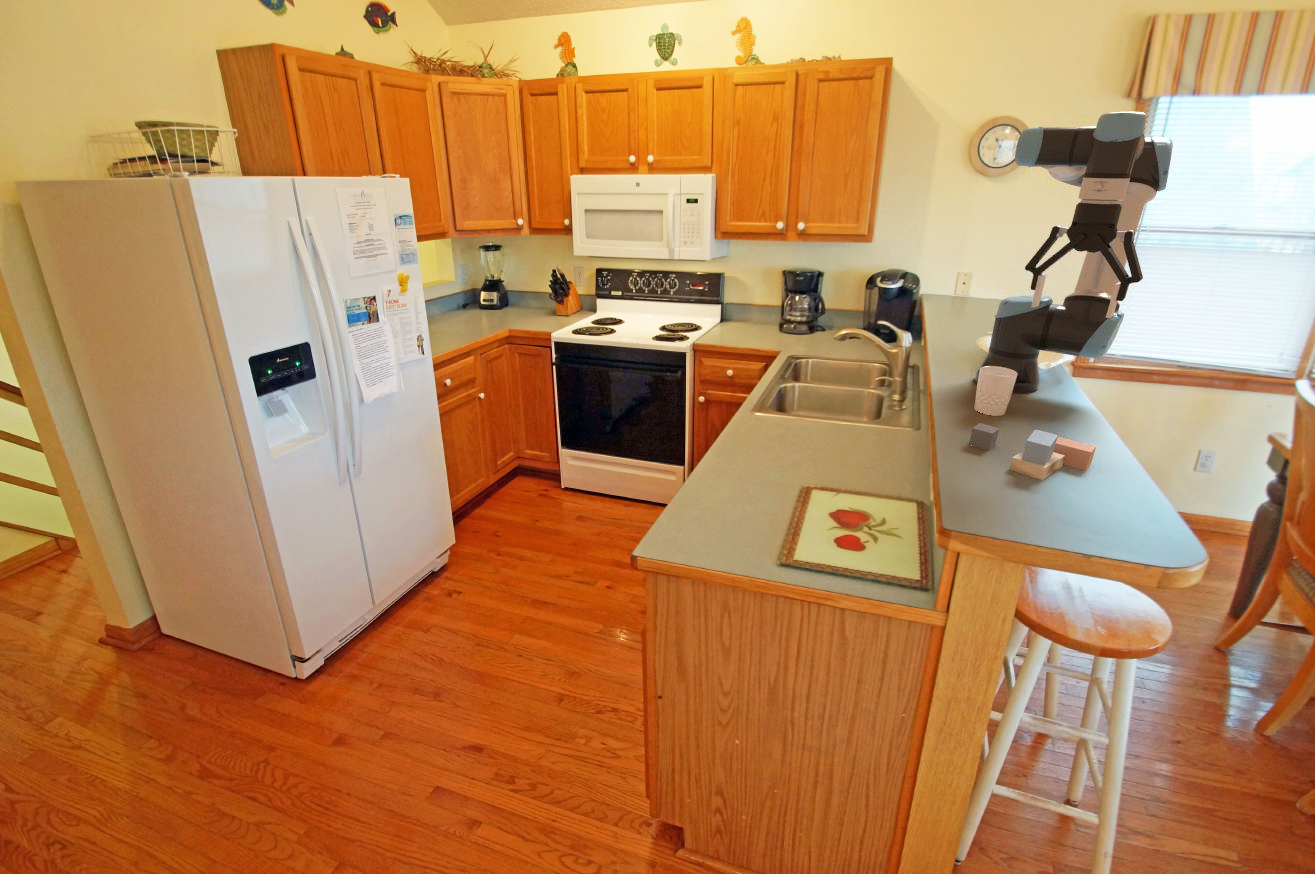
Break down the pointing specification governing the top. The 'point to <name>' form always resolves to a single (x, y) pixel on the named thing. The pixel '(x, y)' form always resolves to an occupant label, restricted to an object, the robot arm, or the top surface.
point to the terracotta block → (1075, 452)
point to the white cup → (994, 390)
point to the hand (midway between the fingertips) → (1071, 311)
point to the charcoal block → (984, 436)
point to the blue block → (1039, 447)
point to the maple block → (1037, 466)
